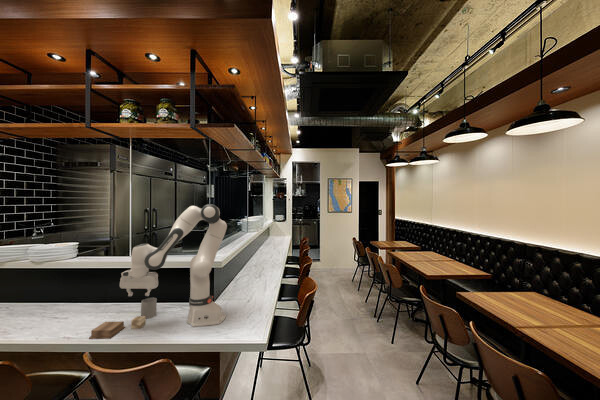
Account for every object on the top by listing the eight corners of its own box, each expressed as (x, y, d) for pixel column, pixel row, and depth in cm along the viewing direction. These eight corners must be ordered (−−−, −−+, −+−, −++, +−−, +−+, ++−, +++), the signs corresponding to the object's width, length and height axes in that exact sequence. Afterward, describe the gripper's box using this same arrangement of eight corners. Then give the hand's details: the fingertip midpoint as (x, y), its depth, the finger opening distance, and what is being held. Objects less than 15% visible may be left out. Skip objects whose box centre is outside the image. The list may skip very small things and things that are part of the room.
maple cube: (145, 324, 143) (145, 316, 143) (140, 329, 138) (140, 320, 138) (136, 324, 143) (136, 316, 143) (131, 329, 138) (131, 320, 138)
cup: (138, 319, 149) (139, 303, 150) (143, 314, 157) (143, 298, 158) (154, 318, 152) (154, 301, 152) (158, 312, 160) (158, 297, 160)
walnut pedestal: (125, 328, 139) (125, 320, 139) (111, 338, 128) (111, 330, 128) (105, 328, 138) (105, 321, 139) (88, 338, 127) (89, 331, 127)
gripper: (160, 270, 145) (159, 294, 145) (125, 270, 144) (124, 293, 144) (155, 273, 139) (154, 297, 138) (118, 273, 138) (117, 297, 138)
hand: (138, 295), depth 141 cm, fingers open, 8 cm apart
